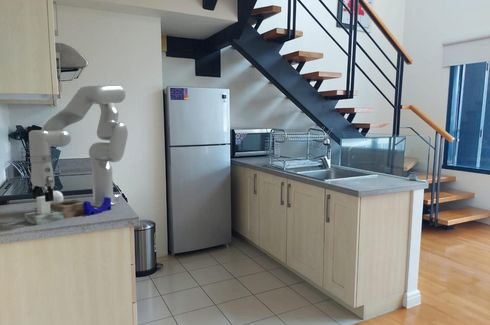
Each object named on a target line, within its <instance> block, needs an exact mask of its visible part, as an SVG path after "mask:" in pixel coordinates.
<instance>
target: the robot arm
mask: <svg viewBox="0 0 490 325" xmlns="http://www.w3.org/2000/svg"><path fill="white" fill-rule="evenodd" d="M125 99H126V91H125V89H124V88H123V87H122V86H120V85H118V84H117V85H116V84H115V85H84V86H81V87H80V88H79V89H78V90H77V91H76V92H75V94H74V95H73V97H72V98H71V100H70V101H69V102H68V104H67V105H66V106H65V107H64V108H62V110H60V111H59V112H58V113H56V114H55V115H53V116H52V117H50V119H48V120H47V121H46V122H45V124H44V125H43V126H42V128H41V129H40V130H39V129H36V130H35V129H34V130H30V131H29V132H28V143H29V144H28V145H29V158H30V159H29V160H30V161H29V162H30V164H31V167H30V168H31V169H30V176H31V177H30V179H29V180H30V185H31V189H32V199H33V200H37V198H36V197H41V196H42V188H44V196H45V202H49V201H53V200H54V198H53V191H55V184H56V182H55V175H54V169H53V165H52V164H53V163H52V154H51V153H52V152H51V149H52V148H51V147H57V148H59V147H60V148H62V147H66V146H68V145H69V143H70V142H71V138H72V137H71V134H70V133H69V132H68V131H66V130H65V128H67V127H68V126H70V125H73V124H77V123H78V122H81V121H82V120H83V119H84V118H85V116H86V114H88V111H89V110H90V109H91V107H92V106H93V105H98V106H99V109H100V115H99V116H100V117H99V120H98V125H97V129H96V136H97V138H98V139H100V140H101V141H102V142H101V141H100V142H99V141H98V142H94V143H92V144H91V145H90V147H89V149H88V156H89V160H90V164H91V180H92V181H91V182H92V201H89V202H90V203H91V206H92V207H93V208H99V207H100V206H101V205H102V204H103V202H104V197H109V198H111V206H115V205H116V204H117V202H118V201H117V199H119V198H122V194H121V193H118V194H114V188H113V187H114V183H113V180H114V179H113V168H112V167H113V166H112V165H111V163H117V162H120V161H121V160H122V158H123V156H124V153H125V150H126V145H127V141H128V136H129V132H128V128H127V125H126V124H125V123H123V122H122V121H121V122H120V121H118V120H119V110H118V107H117V105H116V104H121V103H122V102H123V101H124V100H125ZM103 141H109V142H103Z"/></svg>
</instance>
